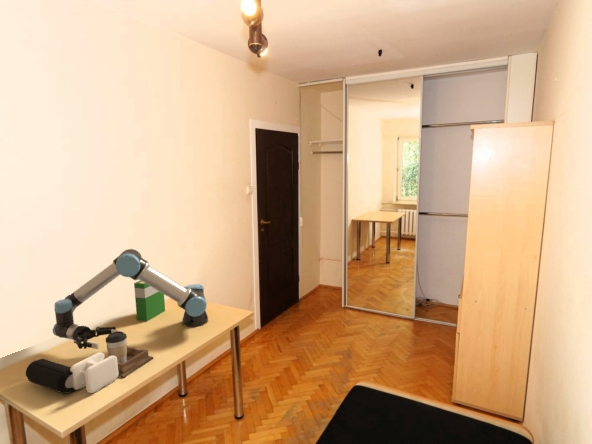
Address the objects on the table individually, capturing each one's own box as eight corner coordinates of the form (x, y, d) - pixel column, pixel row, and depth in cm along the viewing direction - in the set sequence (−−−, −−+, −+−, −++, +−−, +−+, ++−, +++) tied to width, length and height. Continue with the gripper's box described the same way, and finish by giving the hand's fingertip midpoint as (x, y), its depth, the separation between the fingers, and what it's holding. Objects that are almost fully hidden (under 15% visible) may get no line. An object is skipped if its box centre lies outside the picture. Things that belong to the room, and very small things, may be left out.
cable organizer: (87, 397, 150) (85, 371, 148) (71, 391, 154) (68, 365, 153) (119, 378, 163) (117, 354, 162) (103, 373, 168) (101, 349, 166)
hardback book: (155, 309, 244) (153, 275, 241) (165, 310, 242) (162, 275, 239) (137, 320, 228) (134, 283, 224) (147, 321, 225) (144, 284, 222)
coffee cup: (107, 361, 176) (104, 332, 174) (128, 356, 181) (125, 328, 179) (108, 370, 169) (105, 339, 166) (129, 365, 173) (127, 335, 171)
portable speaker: (85, 386, 158) (83, 365, 156) (63, 399, 149) (60, 377, 148) (47, 374, 168) (45, 353, 167) (24, 385, 159) (21, 364, 158)
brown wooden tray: (97, 370, 170) (96, 360, 169) (128, 352, 187) (127, 343, 186) (123, 378, 164) (122, 367, 163) (153, 358, 180) (152, 349, 180)
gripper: (101, 330, 197) (130, 336, 189) (55, 351, 174) (87, 359, 166) (99, 316, 196) (129, 322, 188) (54, 336, 173) (85, 343, 165)
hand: (109, 339), depth 177 cm, fingers open, 13 cm apart
